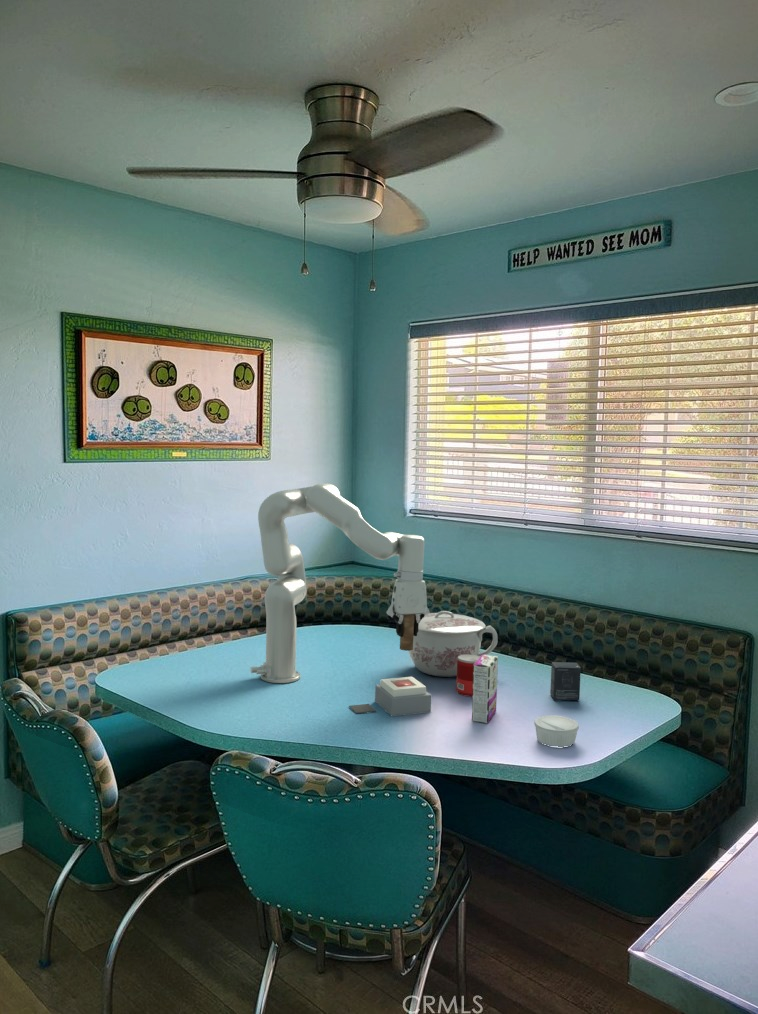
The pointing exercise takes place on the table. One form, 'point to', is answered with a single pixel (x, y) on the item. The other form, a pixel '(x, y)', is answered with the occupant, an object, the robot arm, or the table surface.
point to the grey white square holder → (403, 697)
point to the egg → (402, 683)
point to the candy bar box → (484, 688)
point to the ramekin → (556, 730)
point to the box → (565, 681)
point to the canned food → (465, 674)
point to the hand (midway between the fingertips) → (406, 634)
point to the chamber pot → (447, 642)
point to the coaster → (362, 708)
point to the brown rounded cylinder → (407, 633)
